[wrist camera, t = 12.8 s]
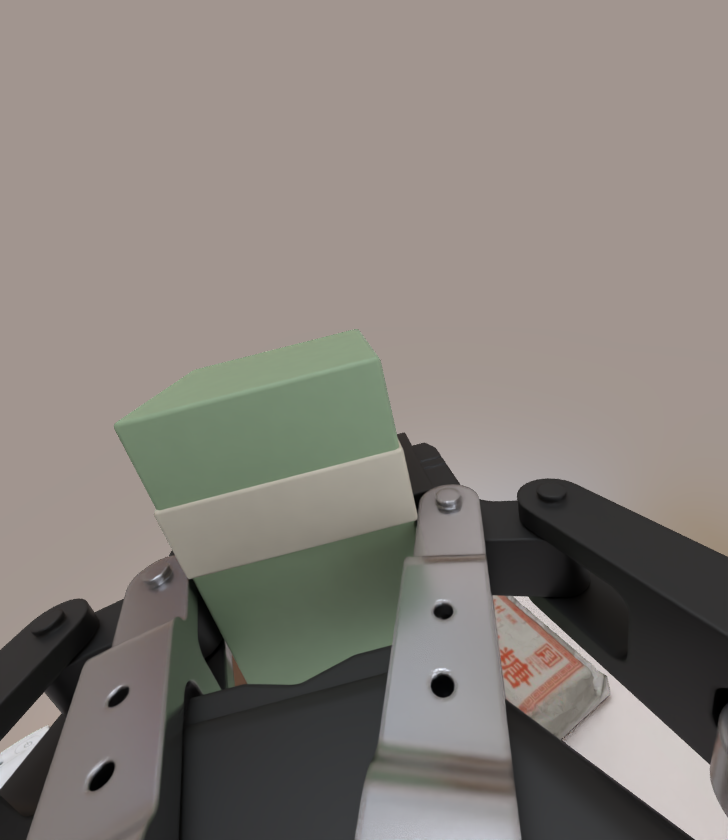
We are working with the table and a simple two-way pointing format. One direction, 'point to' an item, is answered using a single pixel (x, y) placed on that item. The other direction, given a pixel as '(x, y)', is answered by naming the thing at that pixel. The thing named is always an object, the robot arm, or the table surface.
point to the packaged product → (544, 670)
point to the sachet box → (283, 501)
